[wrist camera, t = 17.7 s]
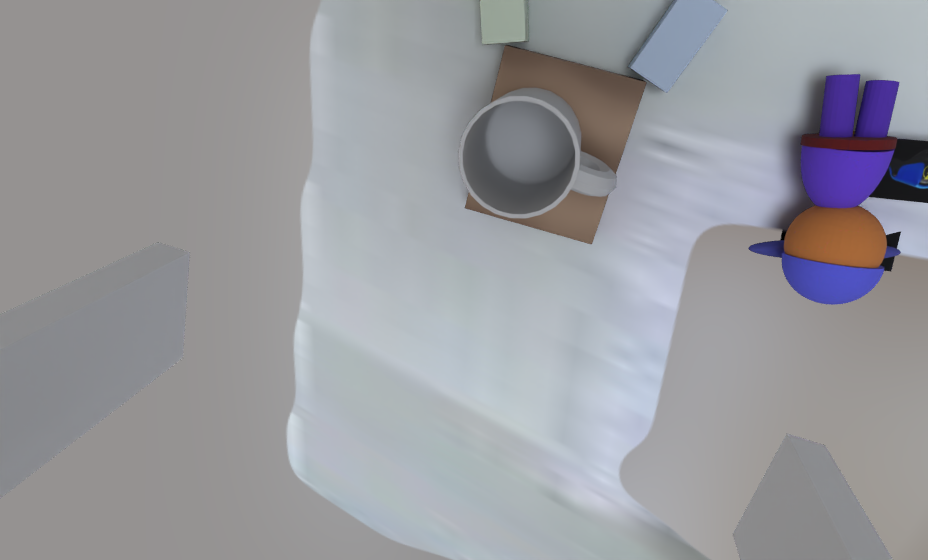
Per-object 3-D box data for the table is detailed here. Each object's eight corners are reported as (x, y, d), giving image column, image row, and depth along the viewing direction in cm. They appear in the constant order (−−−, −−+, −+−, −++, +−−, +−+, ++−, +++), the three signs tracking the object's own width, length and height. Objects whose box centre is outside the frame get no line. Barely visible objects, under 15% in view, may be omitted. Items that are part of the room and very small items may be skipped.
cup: (503, 70, 44) (483, 76, 35) (635, 124, 43) (646, 143, 35) (467, 165, 46) (441, 191, 38) (591, 217, 46) (592, 254, 38)
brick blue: (682, -13, 42) (689, -17, 39) (718, 12, 42) (727, 10, 40) (627, 66, 44) (630, 67, 42) (662, 90, 45) (667, 92, 42)
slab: (509, 45, 45) (505, 45, 43) (643, 80, 44) (646, 82, 42) (470, 200, 50) (464, 208, 48) (591, 235, 49) (591, 244, 47)
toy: (777, 80, 45) (737, 281, 48) (808, 63, 38) (759, 303, 41) (948, 92, 43) (895, 303, 46) (1017, 76, 35) (948, 330, 38)
